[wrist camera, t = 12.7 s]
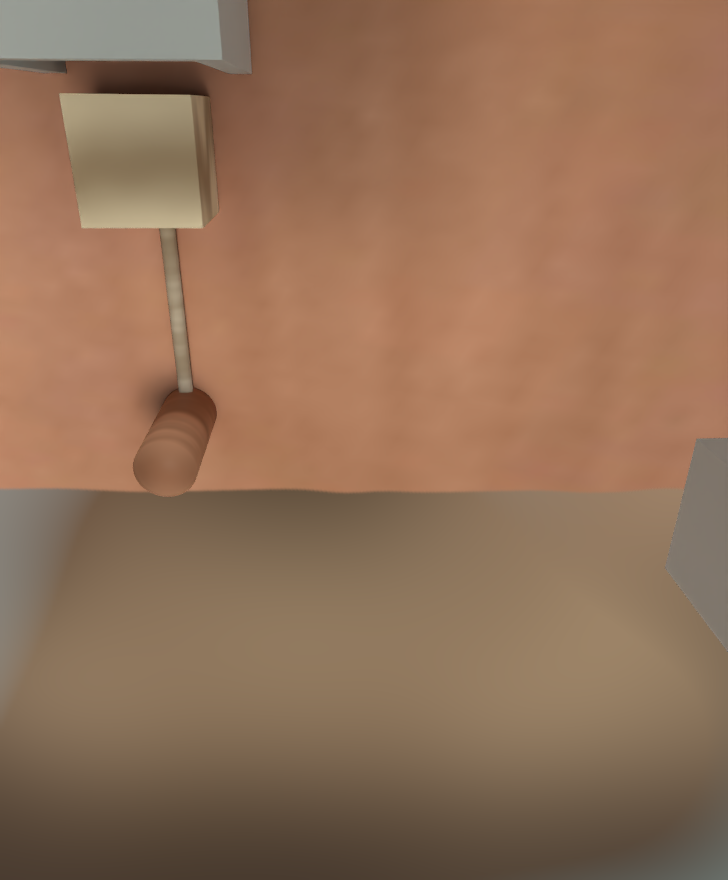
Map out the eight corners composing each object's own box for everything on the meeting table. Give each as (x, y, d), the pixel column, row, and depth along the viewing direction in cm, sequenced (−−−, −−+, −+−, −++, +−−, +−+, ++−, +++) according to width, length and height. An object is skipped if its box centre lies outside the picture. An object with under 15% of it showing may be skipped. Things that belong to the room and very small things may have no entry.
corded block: (97, 95, 36) (43, 92, 29) (209, 96, 37) (182, 94, 30) (147, 436, 46) (115, 497, 38) (237, 434, 46) (221, 495, 39)
